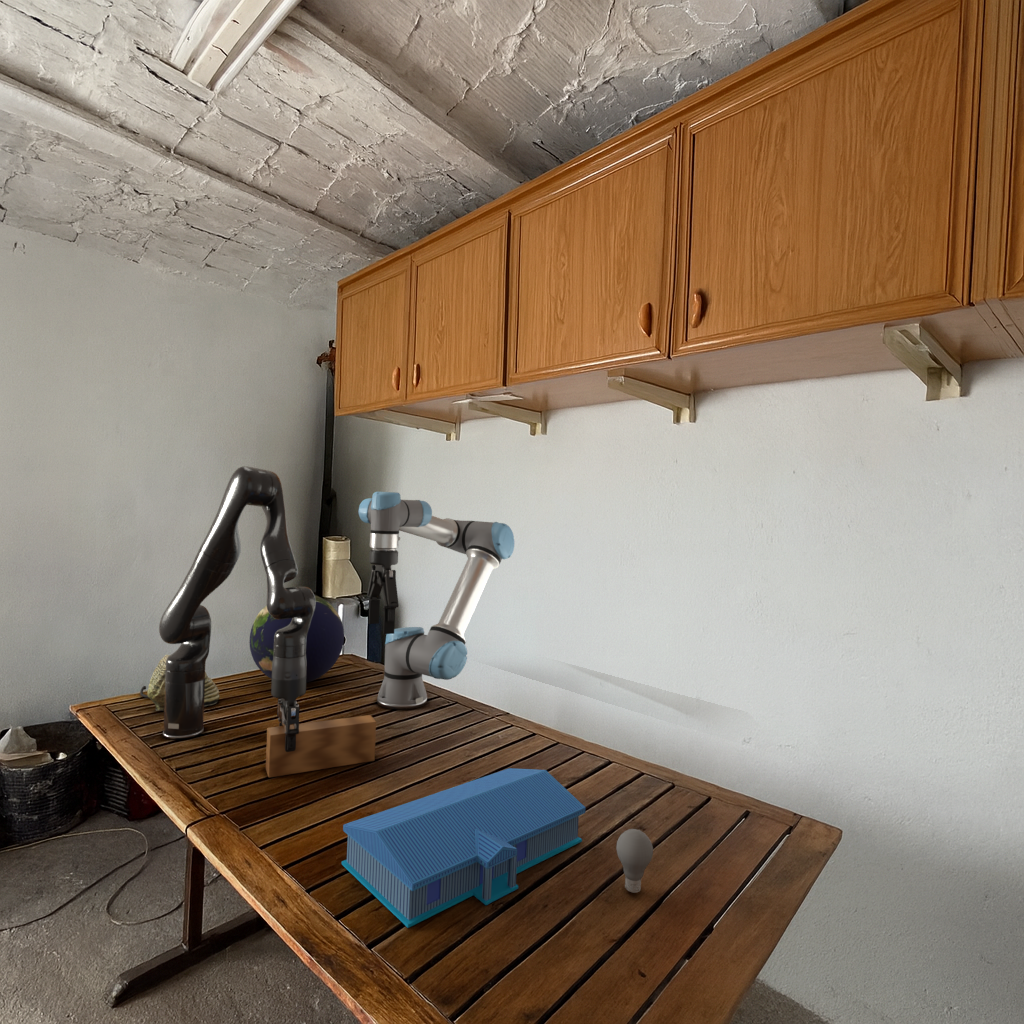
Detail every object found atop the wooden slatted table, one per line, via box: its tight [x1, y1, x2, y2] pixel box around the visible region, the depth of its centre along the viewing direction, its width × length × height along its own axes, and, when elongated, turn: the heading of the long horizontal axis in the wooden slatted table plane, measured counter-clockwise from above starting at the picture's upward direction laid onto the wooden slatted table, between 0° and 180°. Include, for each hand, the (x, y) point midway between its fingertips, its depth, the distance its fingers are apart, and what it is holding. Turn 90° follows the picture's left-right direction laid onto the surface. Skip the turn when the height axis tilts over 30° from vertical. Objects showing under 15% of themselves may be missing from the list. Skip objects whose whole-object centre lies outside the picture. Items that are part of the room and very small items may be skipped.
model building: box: [341, 767, 586, 929], centre depth 114 cm, size 39×24×10 cm, turn 132°
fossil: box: [146, 654, 221, 712], centre depth 185 cm, size 9×18×15 cm, turn 132°
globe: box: [248, 594, 345, 684], centre depth 212 cm, size 30×30×30 cm
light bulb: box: [615, 828, 654, 894], centre depth 106 cm, size 6×6×10 cm
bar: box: [265, 714, 377, 778], centre depth 149 cm, size 24×5×10 cm, turn 119°
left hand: (287, 744), depth 145 cm, fingers open, 8 cm apart
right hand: (380, 628), depth 170 cm, fingers open, 13 cm apart
